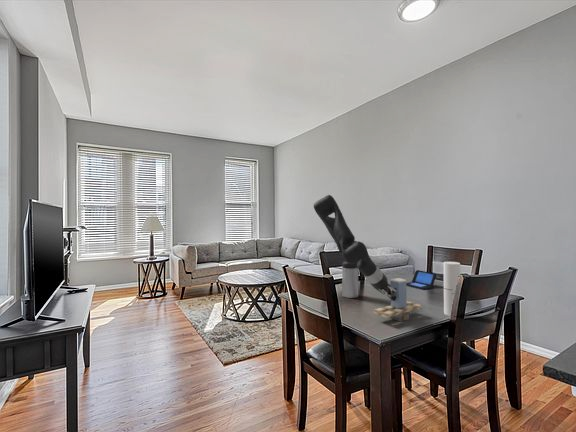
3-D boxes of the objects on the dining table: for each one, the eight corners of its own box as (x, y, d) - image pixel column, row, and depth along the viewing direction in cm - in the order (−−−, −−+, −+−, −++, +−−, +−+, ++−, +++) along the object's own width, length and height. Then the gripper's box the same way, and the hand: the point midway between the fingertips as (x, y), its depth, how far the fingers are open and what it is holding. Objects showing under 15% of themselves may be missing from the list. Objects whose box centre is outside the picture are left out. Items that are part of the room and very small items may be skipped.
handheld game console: (403, 285, 205) (403, 271, 205) (416, 282, 212) (416, 269, 212) (424, 290, 192) (423, 276, 192) (437, 287, 199) (437, 273, 198)
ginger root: (386, 325, 134) (386, 314, 134) (373, 320, 141) (372, 309, 141) (421, 315, 146) (421, 305, 146) (407, 310, 153) (407, 300, 153)
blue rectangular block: (399, 312, 141) (399, 281, 140) (390, 309, 145) (390, 279, 145) (406, 310, 143) (406, 280, 143) (397, 307, 148) (397, 278, 148)
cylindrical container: (445, 310, 153) (445, 261, 152) (461, 313, 148) (461, 262, 148) (442, 314, 147) (441, 263, 147) (459, 317, 143) (458, 264, 142)
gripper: (360, 280, 141) (379, 302, 147) (382, 286, 129) (402, 309, 136) (368, 267, 143) (387, 289, 150) (390, 272, 132) (409, 296, 138)
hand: (394, 299), depth 143 cm, fingers closed
